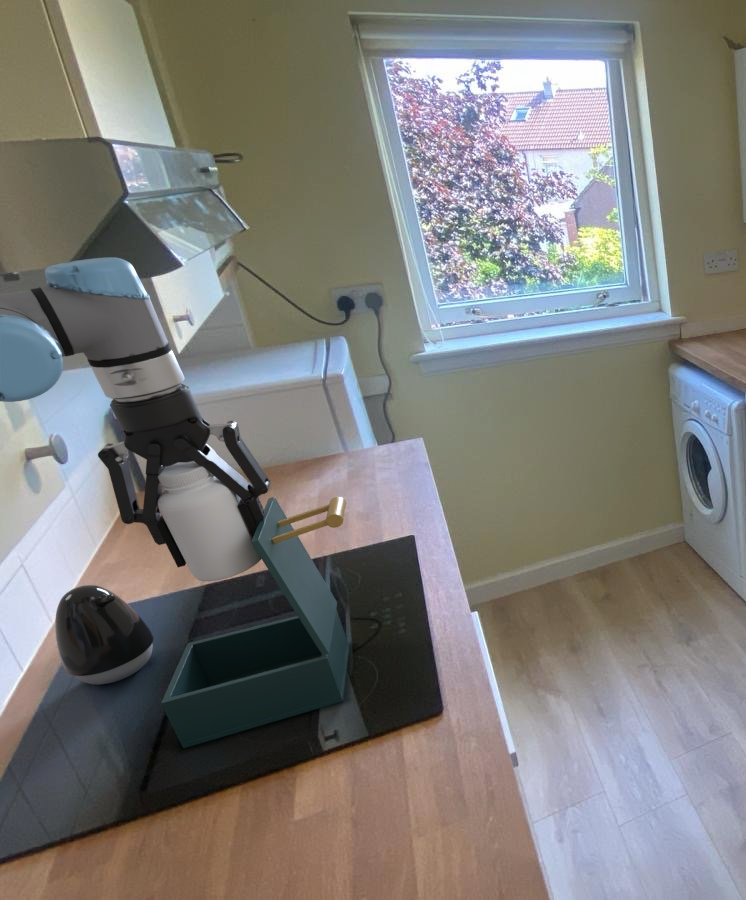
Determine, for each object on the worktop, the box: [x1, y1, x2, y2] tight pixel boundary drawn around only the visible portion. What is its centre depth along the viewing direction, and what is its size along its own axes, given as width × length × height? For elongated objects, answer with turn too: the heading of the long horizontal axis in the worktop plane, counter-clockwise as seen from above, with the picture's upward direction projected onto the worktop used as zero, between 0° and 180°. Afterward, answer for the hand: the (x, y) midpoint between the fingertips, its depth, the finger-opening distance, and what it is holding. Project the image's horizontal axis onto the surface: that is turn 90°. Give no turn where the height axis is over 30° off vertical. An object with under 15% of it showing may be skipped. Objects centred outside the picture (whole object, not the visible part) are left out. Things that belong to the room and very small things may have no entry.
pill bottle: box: [158, 461, 262, 582], centre depth 95 cm, size 8×8×15 cm
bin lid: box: [251, 496, 347, 656], centre depth 104 cm, size 19×14×9 cm
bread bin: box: [160, 608, 350, 749], centre depth 105 cm, size 19×14×8 cm
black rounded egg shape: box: [54, 584, 154, 685], centre depth 109 cm, size 10×10×15 cm
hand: (223, 551), depth 97 cm, fingers closed on pill bottle, 8 cm apart
